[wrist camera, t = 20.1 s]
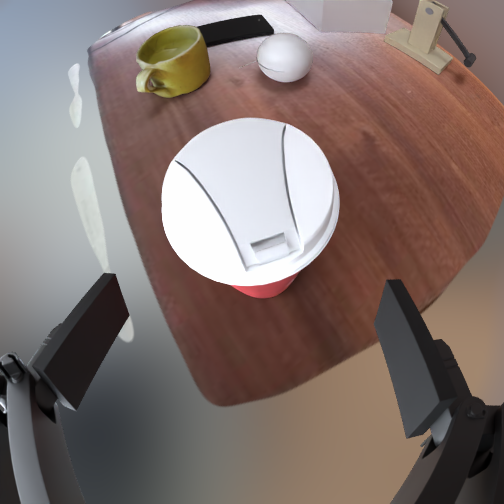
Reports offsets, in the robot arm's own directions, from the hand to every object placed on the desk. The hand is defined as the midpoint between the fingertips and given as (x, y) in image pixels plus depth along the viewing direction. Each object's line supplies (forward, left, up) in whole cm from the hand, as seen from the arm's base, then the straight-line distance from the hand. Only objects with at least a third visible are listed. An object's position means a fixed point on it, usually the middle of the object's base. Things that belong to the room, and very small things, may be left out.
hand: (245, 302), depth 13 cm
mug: (+30, -14, -12) cm, 35 cm away
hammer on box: (+32, -54, -12) cm, 64 cm away
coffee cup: (+3, -4, -12) cm, 13 cm away
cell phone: (+38, -29, -12) cm, 49 cm away
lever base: (+10, -55, -12) cm, 57 cm away
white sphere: (+20, -24, -12) cm, 33 cm away
